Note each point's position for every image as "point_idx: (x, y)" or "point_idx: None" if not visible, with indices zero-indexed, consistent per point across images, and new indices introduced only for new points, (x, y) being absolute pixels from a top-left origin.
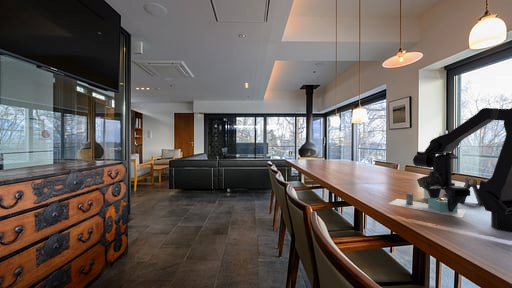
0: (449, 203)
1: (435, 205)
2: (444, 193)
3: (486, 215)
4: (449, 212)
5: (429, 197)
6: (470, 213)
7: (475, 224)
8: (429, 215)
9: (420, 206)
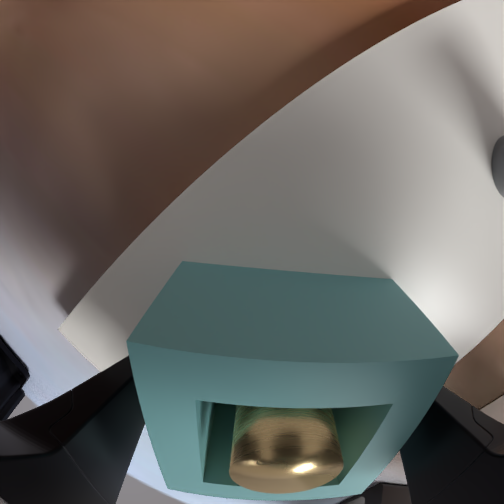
0: (74, 395)
1: (260, 302)
2: None
3: None
4: None
5: (501, 419)
6: None
7: (23, 322)
8: (178, 117)
9: (435, 211)
